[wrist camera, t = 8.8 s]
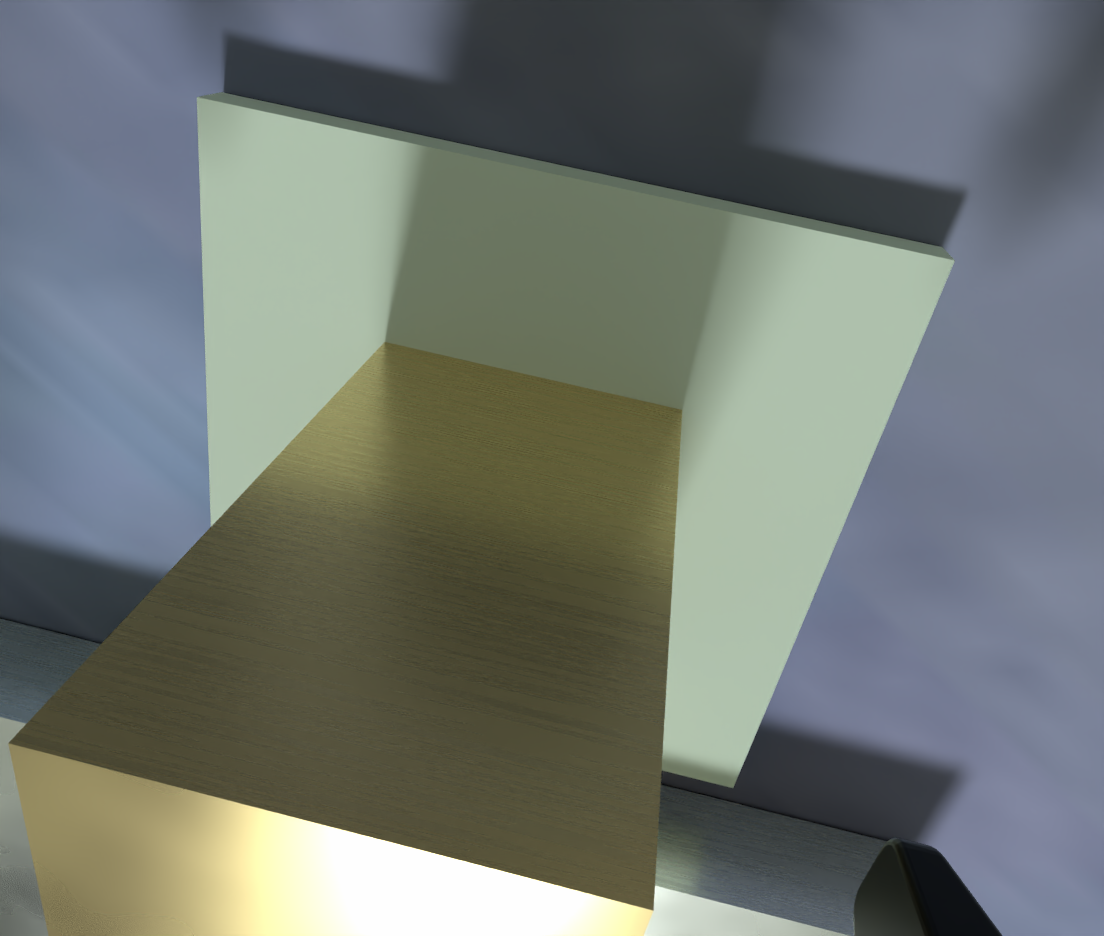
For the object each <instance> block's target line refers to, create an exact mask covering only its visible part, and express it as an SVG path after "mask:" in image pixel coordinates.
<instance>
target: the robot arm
mask: <svg viewBox="0 0 1104 936" xmlns="http://www.w3.org/2000/svg"><path fill="white" fill-rule="evenodd" d="M853 923H854V936H1002V934H1001V933H1000V932H999V930H998V929H997V928H996V926H995V925H994V924H993V922H992V921H991V920H990V918H989V917H988V916H987V914H986V913H985V911H984V910H983V909H982V907H981V906H980V905H979V903H978V902H977V901H976V899H975V898H974V897H973V895H972V894H971V893H970V891H969V890H968V888H967V887H966V886H965V884H964V883H963V882H962V880H961V879H960V878H959V876H958V875H957V874H956V872H955V871H954V870H953V868H952V867H951V865H950V864H949V863H948V861H947V860H946V859H945V857H944V856H943V855H942V854H941V853H940V852H939V851H938V850H937V849H935V848H933V847H931V846H928V845H925V844H921V843H917V842H913V841H909V840H905V839H901V838H892V839H890V840H888V841H887V842H886V843H885V844H884V845H883V847H882V848H881V850H880V852H879V854H878V855H877V857H876V859H875V861H874V862H873V864H872V866H871V867H870V869H869V871H868V873H867V874H866V876H865V878H864V880H863V881H862V883H861V885H860V887H859V889H858V891H857V894H856V898H855V903H854V912H853Z"/></svg>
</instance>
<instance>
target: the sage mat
mask: <svg viewBox="0 0 1104 936" xmlns="http://www.w3.org/2000/svg"><path fill="white" fill-rule="evenodd" d="M197 115H198V145H199V176H200V206H201V237H202V267H203V298H204V328H205V359H206V389H207V420H208V450H209V481H210V511H211V526H212V525H213V524H214V523H215V522H216V521H217V520H218V519H219V518H220V517H221V516H222V515H223V514H224V512H225V511H226V510H227V509H228V508H229V507H230V506H231V505H232V504H233V503H234V502H235V501H236V500H237V499H238V498H239V497H240V495H241V494H242V493H243V492H244V491H245V490H246V489H247V488H248V487H249V486H250V485H251V484H252V483H253V482H254V481H255V479H256V478H257V477H258V476H259V475H260V474H261V473H262V472H263V471H264V470H265V469H266V468H267V467H268V466H269V465H270V463H271V462H272V461H273V460H274V459H275V458H276V457H277V456H278V455H279V454H280V453H281V452H282V451H283V450H284V449H285V447H286V446H287V445H288V444H289V443H290V442H291V441H292V440H293V439H294V438H295V437H296V436H297V435H298V434H299V433H300V431H301V430H302V429H303V428H304V427H305V426H306V425H307V424H308V423H309V422H310V421H311V420H312V419H313V418H314V417H315V415H316V414H317V413H318V412H319V411H320V410H321V409H322V408H323V407H324V406H325V405H326V404H327V403H328V402H329V401H330V399H331V398H332V397H333V396H334V395H335V394H336V393H337V392H338V391H339V390H340V389H341V388H342V387H343V386H344V385H345V383H346V382H347V381H348V380H349V379H350V378H351V377H352V376H353V375H354V374H355V373H356V372H357V371H358V370H359V369H360V367H361V366H362V365H363V364H364V363H365V362H366V361H367V360H368V359H369V358H370V357H371V356H372V355H373V354H374V353H375V351H376V350H377V349H378V348H379V347H380V346H381V345H382V344H383V343H384V342H388V343H392V344H396V345H401V346H405V347H409V348H414V349H418V350H423V351H427V352H431V353H436V354H440V355H444V356H449V357H453V358H458V359H462V360H466V361H471V362H475V363H479V364H484V365H488V366H492V367H497V368H501V369H506V370H510V371H514V372H519V373H523V374H527V375H532V376H536V377H541V378H545V379H549V380H554V381H558V382H562V383H567V384H571V385H576V386H580V387H584V388H589V389H593V390H597V391H602V392H606V393H610V394H615V395H619V396H624V397H628V398H632V399H637V400H641V401H645V402H650V403H654V404H659V405H663V406H667V407H672V408H676V409H680V410H682V424H681V441H680V459H679V476H678V494H677V511H676V528H675V546H674V563H673V581H672V598H671V616H670V633H669V650H668V668H667V685H666V703H665V720H664V737H663V755H662V771H666V772H670V773H674V774H678V775H682V776H686V777H690V778H694V779H698V780H702V781H706V782H710V783H714V784H718V785H722V786H726V787H730V788H733V787H734V785H735V783H736V780H737V778H738V775H739V773H740V771H741V768H742V766H743V764H744V761H745V759H746V756H747V754H748V752H749V749H750V747H751V745H752V742H753V740H754V737H755V735H756V733H757V730H758V728H759V725H760V723H761V721H762V718H763V716H764V714H765V711H766V709H767V706H768V704H769V702H770V699H771V697H772V695H773V692H774V690H775V687H776V685H777V683H778V680H779V678H780V675H781V673H782V671H783V668H784V666H785V664H786V661H787V659H788V656H789V654H790V652H791V649H792V647H793V645H794V642H795V640H796V637H797V635H798V633H799V630H800V628H801V625H802V623H803V621H804V618H805V616H806V614H807V611H808V609H809V606H810V604H811V602H812V599H813V597H814V595H815V592H816V590H817V587H818V585H819V583H820V580H821V578H822V575H823V573H824V571H825V568H826V566H827V564H828V561H829V559H830V556H831V554H832V552H833V549H834V547H835V545H836V542H837V540H838V537H839V535H840V533H841V530H842V528H843V526H844V523H845V521H846V518H847V516H848V514H849V511H850V509H851V506H852V504H853V502H854V499H855V497H856V495H857V492H858V490H859V487H860V485H861V483H862V480H863V478H864V476H865V473H866V471H867V468H868V466H869V464H870V461H871V459H872V456H873V454H874V452H875V449H876V447H877V445H878V442H879V440H880V437H881V435H882V433H883V430H884V428H885V426H886V423H887V421H888V418H889V416H890V414H891V411H892V409H893V406H894V404H895V402H896V399H897V397H898V395H899V392H900V390H901V387H902V385H903V383H904V380H905V378H906V376H907V373H908V371H909V368H910V366H911V364H912V361H913V359H914V356H915V354H916V352H917V349H918V347H919V345H920V342H921V340H922V337H923V335H924V333H925V330H926V328H927V326H928V323H929V321H930V318H931V316H932V314H933V311H934V309H935V306H936V304H937V302H938V299H939V297H940V295H941V292H942V290H943V287H944V285H945V283H946V280H947V278H948V276H949V273H950V271H951V268H952V266H953V264H954V261H955V260H954V259H953V258H952V257H951V256H950V255H949V254H948V253H947V252H946V251H945V250H944V249H943V248H942V247H939V246H935V245H930V244H925V243H921V242H916V241H911V240H907V239H902V238H897V237H893V236H888V235H883V234H879V233H874V232H869V231H865V230H860V229H855V228H851V227H846V226H841V225H837V224H832V223H828V222H823V221H818V220H814V219H809V218H804V217H800V216H795V215H790V214H786V213H781V212H776V211H772V210H767V209H762V208H758V207H753V206H748V205H744V204H739V203H734V202H730V201H725V200H721V199H716V198H711V197H707V196H702V195H697V194H693V193H688V192H683V191H679V190H674V189H669V188H665V187H660V186H655V185H651V184H646V183H641V182H637V181H632V180H627V179H623V178H618V177H614V176H609V175H604V174H600V173H595V172H590V171H586V170H581V169H576V168H572V167H567V166H562V165H558V164H553V163H548V162H544V161H539V160H534V159H530V158H525V157H520V156H516V155H511V154H507V153H502V152H497V151H493V150H488V149H483V148H479V147H474V146H469V145H465V144H460V143H455V142H451V141H446V140H441V139H437V138H432V137H427V136H423V135H418V134H413V133H409V132H404V131H400V130H395V129H390V128H386V127H381V126H376V125H372V124H367V123H362V122H358V121H353V120H348V119H344V118H339V117H334V116H330V115H325V114H320V113H316V112H311V111H306V110H302V109H297V108H293V107H288V106H283V105H279V104H274V103H269V102H265V101H260V100H255V99H251V98H246V97H241V96H237V95H232V94H227V93H223V92H221V93H216V94H210V95H205V96H200V97H197Z"/></svg>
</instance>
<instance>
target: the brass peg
mask: <svg viewBox="0 0 1104 936" xmlns="http://www.w3.org/2000/svg"><path fill="white" fill-rule="evenodd" d="M681 424H682V410H680V409H676V408H672V407H667V406H663V405H659V404H654V403H650V402H645V401H641V400H637V399H632V398H628V397H624V396H619V395H615V394H610V393H606V392H602V391H597V390H593V389H589V388H584V387H580V386H576V385H571V384H567V383H562V382H558V381H554V380H549V379H545V378H541V377H536V376H532V375H527V374H523V373H519V372H514V371H510V370H506V369H501V368H497V367H492V366H488V365H484V364H479V363H475V362H471V361H466V360H462V359H458V358H453V357H449V356H444V355H440V354H436V353H431V352H427V351H423V350H418V349H414V348H409V347H405V346H401V345H396V344H392V343H388V342H384V343H383V344H382V345H381V346H380V347H379V348H378V349H377V350H376V351H375V353H374V354H373V355H372V356H371V357H370V358H369V359H368V360H367V361H366V362H365V363H364V364H363V365H362V366H361V367H360V369H359V370H358V371H357V372H356V373H355V374H354V375H353V376H352V377H351V378H350V379H349V380H348V381H347V382H346V383H345V385H344V386H343V387H342V388H341V389H340V390H339V391H338V392H337V393H336V394H335V395H334V396H333V397H332V398H331V399H330V401H329V402H328V403H327V404H326V405H325V406H324V407H323V408H322V409H321V410H320V411H319V412H318V413H317V414H316V415H315V417H314V418H313V419H312V420H311V421H310V422H309V423H308V424H307V425H306V426H305V427H304V428H303V429H302V430H301V431H300V433H299V434H298V435H297V436H296V437H295V438H294V439H293V440H292V441H291V442H290V443H289V444H288V445H287V446H286V447H285V449H284V450H283V451H282V452H281V453H280V454H279V455H278V456H277V457H276V458H275V459H274V460H273V461H272V462H271V463H270V465H269V466H268V467H267V468H266V469H265V470H264V471H263V472H262V473H261V474H260V475H259V476H258V477H257V478H256V479H255V481H254V482H253V483H252V484H251V485H250V486H249V487H248V488H247V489H246V490H245V491H244V492H243V493H242V494H241V495H240V497H239V498H238V499H237V500H236V501H235V502H234V503H233V504H232V505H231V506H230V507H229V508H228V509H227V510H226V511H225V512H224V514H223V515H222V516H221V517H220V518H219V519H218V520H217V521H216V522H215V523H214V524H213V525H212V526H211V527H210V528H209V530H208V531H207V532H206V533H205V534H204V535H203V536H202V537H201V538H200V539H199V540H198V541H197V542H196V543H195V544H194V546H193V547H192V548H191V549H190V550H189V551H188V552H187V553H186V554H185V555H184V556H183V557H182V558H181V559H180V560H179V562H178V563H177V564H176V565H175V566H174V567H173V568H172V569H171V570H170V571H169V572H168V573H167V574H166V575H165V576H164V578H163V579H162V580H161V581H160V582H159V583H158V584H157V585H156V586H155V587H154V588H153V589H152V590H151V591H150V592H149V594H148V595H147V596H146V597H145V598H144V599H143V600H142V601H141V602H140V603H139V604H138V605H137V606H136V607H135V608H134V610H133V611H132V612H131V613H130V614H129V615H128V616H127V617H126V618H125V619H124V620H123V621H122V622H121V623H120V624H119V626H118V627H117V628H116V629H115V630H114V631H113V632H112V633H111V634H110V635H109V636H108V637H107V638H106V639H105V640H104V642H103V643H102V644H101V645H100V646H99V647H98V648H97V649H96V650H95V651H94V652H93V653H92V654H91V655H90V656H89V658H88V659H87V660H86V661H85V662H84V663H83V664H82V665H81V666H80V667H79V668H78V669H77V670H76V671H75V672H74V674H73V675H72V676H71V677H70V678H69V679H68V680H67V681H66V682H65V683H64V684H63V685H62V686H61V687H60V688H59V690H58V691H57V692H56V693H55V694H54V695H53V696H52V697H51V698H50V699H49V700H48V701H47V702H46V703H45V704H44V705H43V707H42V708H41V709H40V710H39V711H38V712H37V713H36V714H35V715H34V716H33V717H32V718H31V719H30V720H29V721H28V723H27V724H26V725H25V726H24V727H23V728H22V729H21V730H20V731H19V732H18V733H17V734H16V735H15V736H14V737H13V739H12V740H11V741H10V742H9V743H8V745H9V750H10V755H11V759H12V764H13V769H14V774H15V778H16V783H17V788H18V793H19V797H20V802H21V807H22V812H23V817H24V821H25V826H26V831H27V836H28V840H29V845H30V850H31V855H32V859H33V864H34V869H35V874H36V878H37V883H38V888H39V893H40V898H41V902H42V907H43V912H44V917H45V921H46V926H47V931H48V936H644V934H645V931H646V929H647V926H648V924H649V921H650V918H651V916H652V913H653V911H654V894H655V877H656V859H657V842H658V825H659V807H660V790H661V772H662V755H663V737H664V720H665V703H666V685H667V668H668V650H669V633H670V616H671V598H672V581H673V563H674V546H675V528H676V511H677V494H678V476H679V459H680V441H681Z"/></svg>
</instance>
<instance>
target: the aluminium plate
mask: <svg viewBox="0 0 1104 936" xmlns="http://www.w3.org/2000/svg"><path fill="white" fill-rule="evenodd" d="M100 645H101V644H99V643H95V642H91V641H87V640H83V639H79V638H75V637H71V636H68V635H64V634H60V633H56V632H52V631H48V630H44V629H40V628H36V627H32V626H28V625H24V624H20V623H16V622H12V621H8V620H4V619H0V936H48V931H47V926H46V921H45V917H44V912H43V907H42V902H41V898H40V893H39V888H38V883H37V878H36V874H35V869H34V864H33V859H32V855H31V850H30V845H29V840H28V836H27V831H26V826H25V821H24V817H23V812H22V807H21V802H20V797H19V793H18V788H17V783H16V778H15V774H14V769H13V764H12V759H11V755H10V750H9V745H8V743H9V742H10V741H11V740H12V739H13V737H14V736H15V735H16V734H17V733H18V732H19V731H20V730H21V729H22V728H23V727H24V726H25V725H26V724H27V723H28V721H29V720H30V719H31V718H32V717H33V716H34V715H35V714H36V713H37V712H38V711H39V710H40V709H41V708H42V707H43V705H44V704H45V703H46V702H47V701H48V700H49V699H50V698H51V697H52V696H53V695H54V694H55V693H56V692H57V691H58V690H59V688H60V687H61V686H62V685H63V684H64V683H65V682H66V681H67V680H68V679H69V678H70V677H71V676H72V675H73V674H74V672H75V671H76V670H77V669H78V668H79V667H80V666H81V665H82V664H83V663H84V662H85V661H86V660H87V659H88V658H89V656H90V655H91V654H92V653H93V652H94V651H95V650H96V649H97V648H98V647H99V646H100ZM886 842H887V841H884V840H880V839H876V838H872V837H868V836H864V835H860V834H856V833H852V832H848V831H844V830H840V829H836V828H832V827H828V826H824V825H820V824H816V823H812V822H808V821H804V820H800V819H796V818H792V817H788V816H784V815H780V814H776V813H772V812H768V811H764V810H760V809H756V808H752V807H748V806H744V805H740V804H736V803H732V802H728V801H724V800H720V799H716V798H712V797H708V796H704V795H700V794H696V793H693V792H689V791H685V790H681V789H677V788H673V787H669V786H665V785H661V790H660V807H659V825H658V842H657V859H656V877H655V894H654V911H653V913H652V916H651V918H650V921H649V924H648V926H647V929H646V931H645V934H644V936H854V923H853V912H854V903H855V898H856V894H857V891H858V889H859V887H860V885H861V883H862V881H863V880H864V878H865V876H866V874H867V873H868V871H869V869H870V867H871V866H872V864H873V862H874V861H875V859H876V857H877V855H878V854H879V852H880V850H881V848H882V847H883V845H884V844H885V843H886Z"/></svg>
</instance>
